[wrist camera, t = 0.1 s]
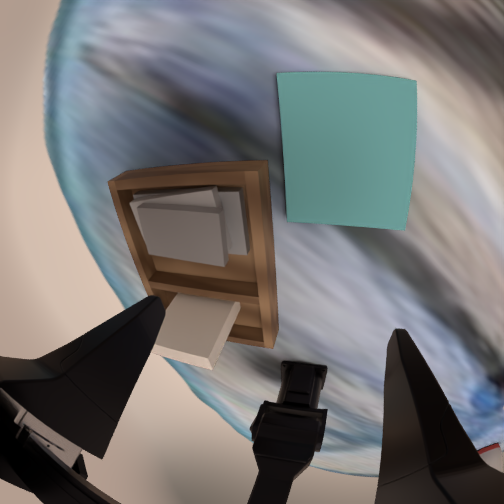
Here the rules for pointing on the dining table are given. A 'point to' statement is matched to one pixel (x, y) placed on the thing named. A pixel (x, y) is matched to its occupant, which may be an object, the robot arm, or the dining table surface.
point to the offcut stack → (193, 223)
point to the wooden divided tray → (204, 275)
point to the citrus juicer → (492, 456)
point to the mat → (348, 147)
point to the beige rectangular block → (196, 329)
